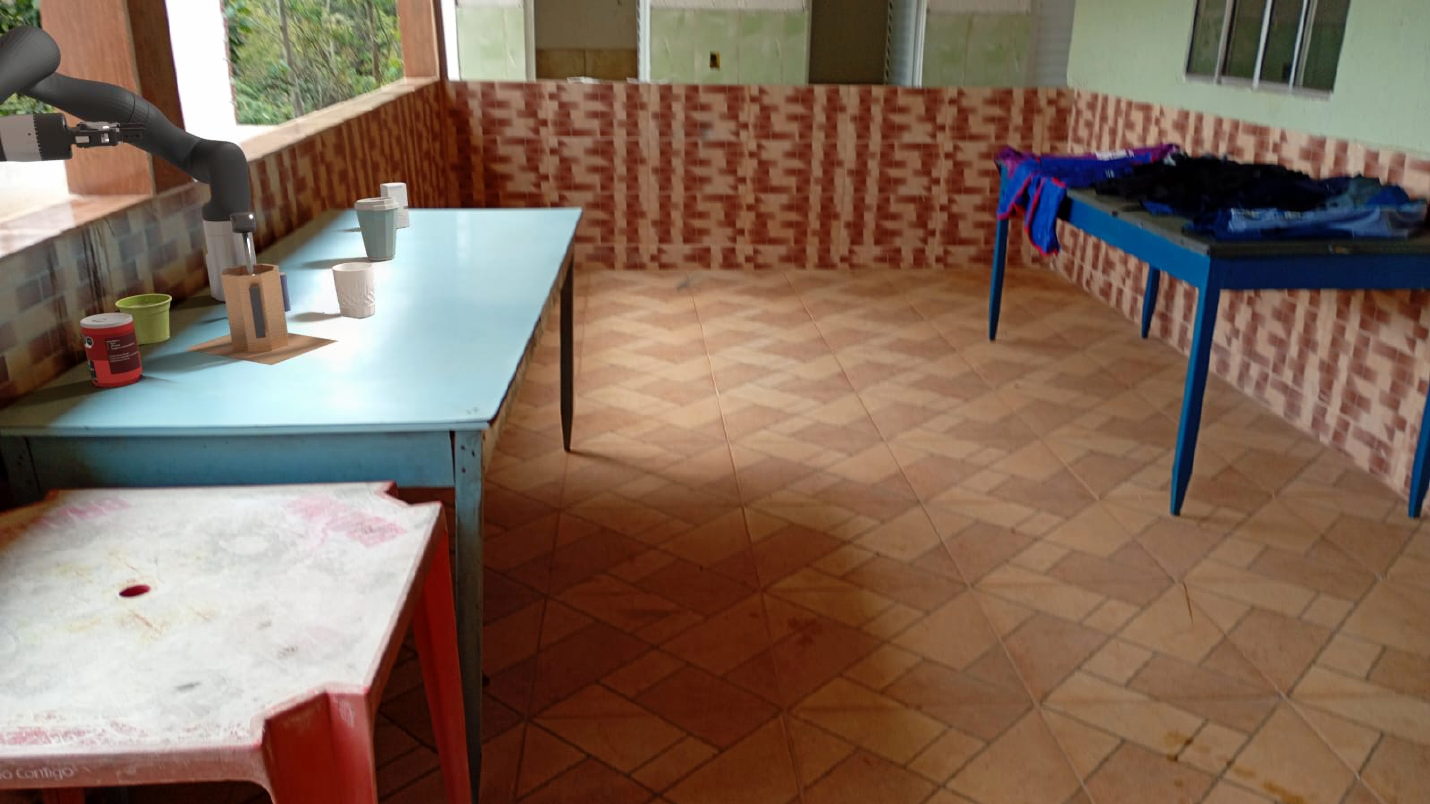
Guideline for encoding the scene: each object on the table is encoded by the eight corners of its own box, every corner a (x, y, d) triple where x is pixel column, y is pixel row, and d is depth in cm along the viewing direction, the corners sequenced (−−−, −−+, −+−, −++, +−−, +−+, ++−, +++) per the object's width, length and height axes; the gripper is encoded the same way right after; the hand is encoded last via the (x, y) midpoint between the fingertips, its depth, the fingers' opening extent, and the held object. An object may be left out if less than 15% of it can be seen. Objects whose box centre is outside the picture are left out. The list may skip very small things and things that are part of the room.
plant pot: (143, 355, 207) (134, 309, 204) (113, 347, 211) (104, 302, 208) (189, 342, 214) (182, 298, 211) (159, 335, 219) (151, 291, 216)
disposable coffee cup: (350, 261, 279) (343, 199, 274) (378, 252, 288) (372, 192, 283) (386, 264, 275) (379, 202, 270) (413, 255, 285) (407, 195, 279)
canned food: (103, 374, 196) (91, 313, 192) (151, 373, 197) (139, 311, 193) (83, 389, 189) (70, 325, 185) (133, 387, 190) (121, 324, 186)
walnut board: (183, 355, 206) (182, 348, 206) (253, 332, 220) (252, 326, 219) (272, 371, 197) (271, 364, 197) (339, 346, 211) (338, 340, 210)
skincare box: (391, 229, 316) (386, 185, 312) (383, 227, 319) (378, 184, 315) (411, 226, 320) (406, 183, 316) (402, 224, 323) (398, 181, 319)
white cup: (366, 320, 228) (360, 271, 224) (330, 318, 229) (324, 270, 226) (385, 310, 235) (379, 263, 232) (350, 308, 237) (344, 261, 233)
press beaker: (219, 349, 206) (207, 273, 201) (262, 335, 214) (251, 262, 209) (263, 356, 201) (251, 279, 196) (305, 342, 210) (295, 267, 205)
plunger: (233, 340, 206) (214, 215, 199) (261, 331, 212) (243, 209, 204) (259, 345, 204) (240, 218, 196) (286, 335, 209) (269, 212, 201)
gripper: (28, 117, 177) (143, 112, 183) (33, 110, 189) (141, 105, 195) (38, 166, 179) (151, 159, 186) (42, 155, 191) (149, 149, 198)
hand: (146, 131), depth 191 cm, fingers open, 8 cm apart
